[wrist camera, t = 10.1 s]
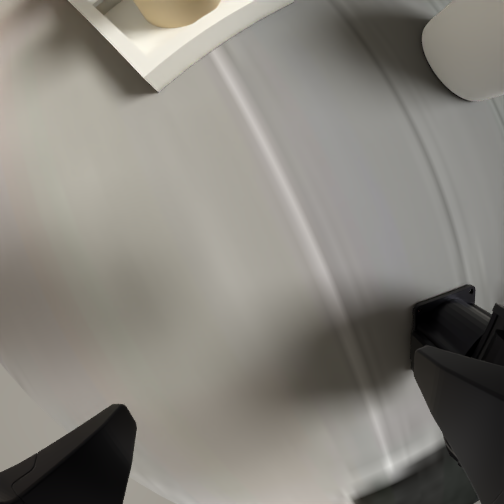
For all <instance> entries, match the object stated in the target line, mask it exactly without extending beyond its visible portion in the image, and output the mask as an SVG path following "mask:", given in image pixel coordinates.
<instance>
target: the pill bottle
mask: <svg viewBox="0 0 504 504" xmlns="http://www.w3.org/2000/svg"><path fill="white" fill-rule="evenodd" d="M422 46H423V50H424V53H425V56H426V59H427V61H428V63H429V65H430V66H431V68H432V70H433V71H434V73H435V74H436V75H437V77H438V78H439V79H440V80H441V82H442V83H443V84H444V85H445V86H446V87H447V88H448V89H449V90H451V91H452V92H453V93H455V94H456V95H458V96H459V97H461V98H463V99H466V100H469V101H484V100H487V99H490V98H494V97H497V96H500V95H504V0H453V1H452V2H451V3H450V4H449V5H447V6H446V7H445V8H444V9H443V10H442V11H440V12H439V13H438V14H437V15H436V16H435V17H434V18H432V19H431V20H430V21H429V22H428V24H427V25H426V26H425V28H424V30H423V33H422Z"/></svg>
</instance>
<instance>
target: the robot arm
mask: <svg viewBox="0 0 504 504" xmlns="http://www.w3.org/2000/svg"><path fill="white" fill-rule="evenodd" d="M470 290H471V291H470ZM420 308H421V310H420V311H419V312H418V310H419V309H420ZM492 311H493V313H492V315H491V314H490V313H488V312H487V311H485V310H483V309H482V308H480V307H479V306H477V305H475V287H474V286H472V285H467V286H465V287H462V288H460V289H457V290H454V291H452V292H449V293H446V294H444V295H441V296H438V297H435V298H432V299H430V300H427V301H424V302H421V303H418V304H416V305H415V306H414V308H413V331H412V333H411V352H410V359H411V360H412V361H411V369H412V370H413V372H414V377H415V380H416V382H417V384H418V386H419V388H420V390H421V392H422V394H423V397H424V399H425V401H426V403H427V405H428V408H429V410H430V412H431V414H432V416H433V417H434V419H435V421H436V423H437V424H438V426H439V428H440V429H441V431H442V433H443V436H444V440H445V444H446V447H447V450H448V452H449V454H450V456H451V457H453V458H454V459H455V460H456V461H457V462H458V465H459V466H461V467H462V468H463V469H464V471H465V473H466V475H467V477H468V479H469V481H470V482H471V484H472V486H473V488H474V490H475V492H476V494H477V496H478V498H479V500H480V502H481V504H504V306H502V305H499V304H497V303H495V306H494V308H493V310H492ZM136 430H137V426H136V422H135V420H134V419H133V417H132V415H131V414H130V412H129V410H128V408H127V407H126V406H125V405H124V404H112V405H111V406H109V407H108V408H106V409H105V410H103V411H102V412H100V413H99V414H97V415H96V416H94V417H93V418H91V419H90V420H88V421H87V422H85V423H84V424H82V425H81V426H79V427H77V428H76V429H74V430H73V431H71V432H70V433H68V434H67V435H65V436H63V437H62V438H60V439H59V440H57V441H56V442H54V443H52V444H51V445H49V446H47V447H46V448H44V449H43V450H41V451H39V452H38V454H37V453H36V454H34V455H33V456H31V457H29V458H28V459H26V460H24V461H22V462H21V463H19V464H17V465H15V466H13V467H11V468H9V469H6V470H4V471H2V472H0V504H123V500H124V496H125V491H126V487H127V482H128V478H129V474H130V470H131V465H132V459H133V451H134V444H135V437H136Z"/></svg>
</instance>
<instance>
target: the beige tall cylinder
mask: <svg viewBox="0 0 504 504" xmlns="http://www.w3.org/2000/svg"><path fill="white" fill-rule="evenodd" d="M133 1H134V3H135V4H136V6H137V7H138V9H139V10H140V12H141V13H142V15H143V16H144V18H145V19H146V20H147V21H148V22H149V23H151V24H152V25H155V26H157V27H162V28H178V27H183V26H187V25H190V24H193V23H194V22H196V21H197V20H199V19H200V18H202V17H203V16H205V15H207V14H208V13H210V12H211V11H213V10H215V9H216V8H217V6H218V5H219V3H220V1H221V0H133Z"/></svg>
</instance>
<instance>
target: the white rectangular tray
mask: <svg viewBox="0 0 504 504" xmlns="http://www.w3.org/2000/svg"><path fill="white" fill-rule="evenodd" d="M68 1H69V2H70V3H71V4H72V5H73V6H74V7H75V8H76V9H77V10H78V11H79V12H80V13H81V14H82V15H83V16H84V17H85V18H86V19H87V20H88V21H89V22H90V23H91V24H92V25H93V26H94V27H95V28H96V29H97V30H98V31H99V32H100V33H101V34H102V35H103V36H104V37H105V38H106V39H107V40H108V41H109V42H110V43H111V44H112V45H113V46H114V47H115V48H116V50H117V51H118V52H119V53H120V54H121V55H122V56H123V57H124V58H125V59H126V60H127V61H128V62H129V63H130V64H131V65H132V66H133V67H134V68H135V70H136V71H137V72H138V73H139V74H140V75H141V76H142V77H143V78H144V79H145V80H146V81H147V82H148V83H149V84H150V85H151V86H152V87H153V88H154V89H155V90H156V91H157V92H158V93H159V92H160V91H161V90H162V89H163V88H165V87H166V86H167V85H168V84H169V83H171V82H172V81H173V80H174V79H175V78H177V77H178V76H179V75H180V74H182V73H183V72H184V71H185V70H187V69H188V68H189V67H191V66H192V65H193V64H195V63H196V62H197V61H199V60H200V59H201V58H203V57H204V56H205V55H207V54H208V53H210V52H211V51H212V50H214V49H215V48H217V47H218V46H220V45H221V44H223V43H224V42H226V41H227V40H229V39H230V38H232V37H233V36H235V35H236V34H238V33H240V32H241V31H243V30H244V29H246V28H248V27H249V26H251V25H253V24H254V23H256V22H258V21H259V20H261V19H263V18H265V17H267V16H268V15H270V14H272V13H274V12H276V11H278V10H279V9H281V8H283V7H285V6H287V5H289V4H291V3H293V2H294V0H221V1H220V3H219V5H218V6H217V8H216V9H215V10H213V11H211V12H210V13H208V14H207V15H205V16H203V17H202V18H200V19H199V20H197V21H196V22H194V23H193V24H190V25H187V26H183V27H178V28H162V27H157V26H155V25H152V24H151V23H149V22H148V21H147V20H146V19H145V18H144V16H143V15H142V13H141V12H140V10H139V9H138V7H137V6H136V4H135V3H134V1H133V0H68Z"/></svg>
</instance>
